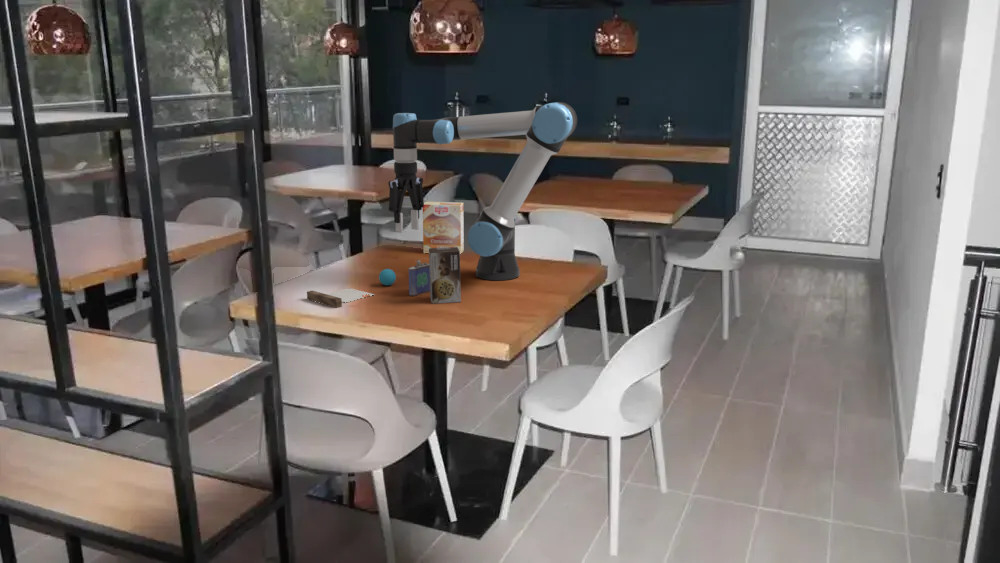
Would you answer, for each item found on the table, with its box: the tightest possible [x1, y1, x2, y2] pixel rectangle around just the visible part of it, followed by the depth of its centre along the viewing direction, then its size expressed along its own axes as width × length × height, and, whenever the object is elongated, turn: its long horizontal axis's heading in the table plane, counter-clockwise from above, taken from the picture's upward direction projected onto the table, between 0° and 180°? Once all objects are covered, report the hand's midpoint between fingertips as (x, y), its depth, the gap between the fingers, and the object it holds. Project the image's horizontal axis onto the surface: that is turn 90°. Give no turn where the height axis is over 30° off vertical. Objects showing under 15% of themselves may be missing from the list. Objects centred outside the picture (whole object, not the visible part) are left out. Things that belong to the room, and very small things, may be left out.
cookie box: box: [428, 247, 462, 305], centre depth 249 cm, size 9×6×16 cm
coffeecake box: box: [422, 201, 465, 254], centre depth 315 cm, size 15×7×20 cm, turn 83°
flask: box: [408, 259, 430, 297], centre depth 258 cm, size 9×3×11 cm, turn 141°
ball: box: [378, 268, 397, 287], centre depth 268 cm, size 6×6×6 cm
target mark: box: [326, 287, 376, 304], centre depth 256 cm, size 12×12×1 cm
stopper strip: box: [306, 290, 343, 309], centre depth 247 cm, size 14×2×2 cm, turn 50°
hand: (407, 230), depth 271 cm, fingers open, 6 cm apart
